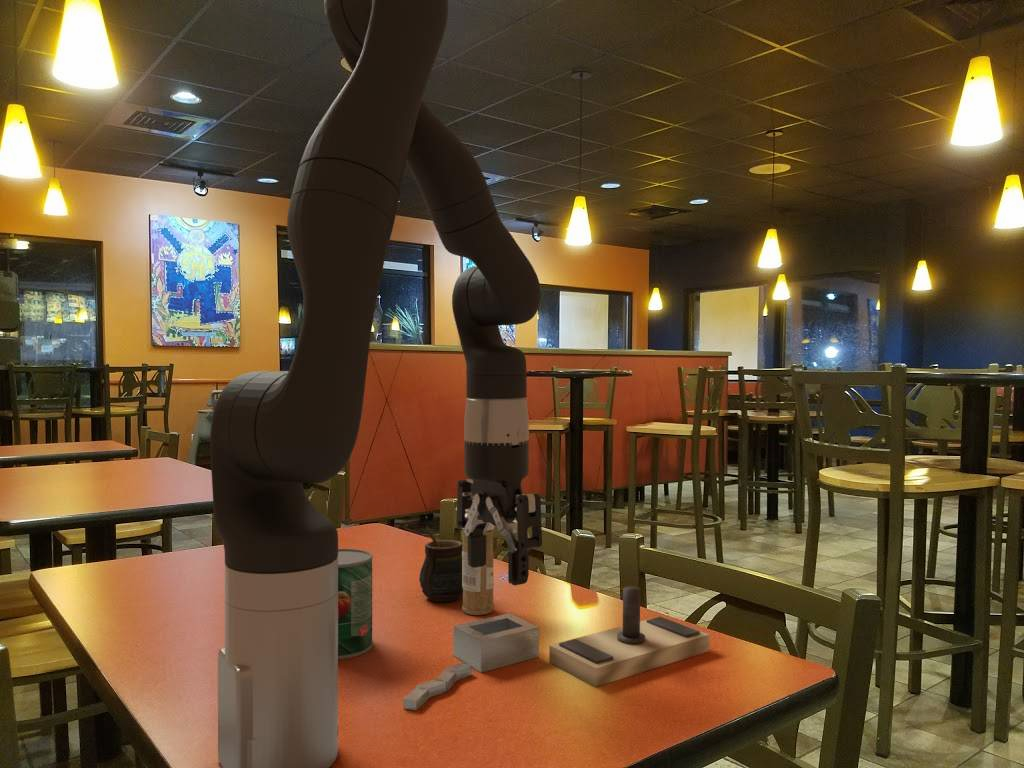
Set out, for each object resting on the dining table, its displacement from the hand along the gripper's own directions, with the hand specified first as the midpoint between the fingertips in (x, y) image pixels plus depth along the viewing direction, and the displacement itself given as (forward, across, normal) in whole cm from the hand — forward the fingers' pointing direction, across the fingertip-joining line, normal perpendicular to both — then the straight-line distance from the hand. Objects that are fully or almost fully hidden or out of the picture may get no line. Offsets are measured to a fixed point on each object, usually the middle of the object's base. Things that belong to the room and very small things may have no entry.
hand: (496, 574), depth 87 cm
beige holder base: (+10, +9, +13) cm, 18 cm away
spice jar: (+10, -15, +7) cm, 19 cm away
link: (+10, 0, 0) cm, 10 cm away
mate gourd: (+10, -23, +6) cm, 25 cm away
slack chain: (+9, +4, -10) cm, 15 cm away
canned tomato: (+10, -13, -14) cm, 21 cm away
